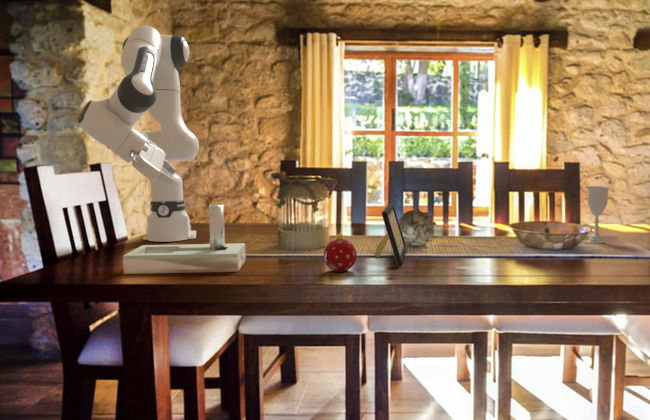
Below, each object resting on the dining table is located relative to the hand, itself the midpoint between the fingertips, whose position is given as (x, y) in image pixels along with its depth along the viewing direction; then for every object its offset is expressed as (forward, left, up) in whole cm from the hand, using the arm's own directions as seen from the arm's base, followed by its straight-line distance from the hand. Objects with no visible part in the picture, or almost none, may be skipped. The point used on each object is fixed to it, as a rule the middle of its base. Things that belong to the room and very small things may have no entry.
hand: (173, 177), depth 160 cm
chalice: (-17, +132, -25) cm, 135 cm away
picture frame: (+1, +62, -25) cm, 67 cm away
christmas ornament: (+19, +47, -25) cm, 56 cm away
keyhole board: (+9, +5, -24) cm, 26 cm away
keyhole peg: (+9, +13, -24) cm, 29 cm away
